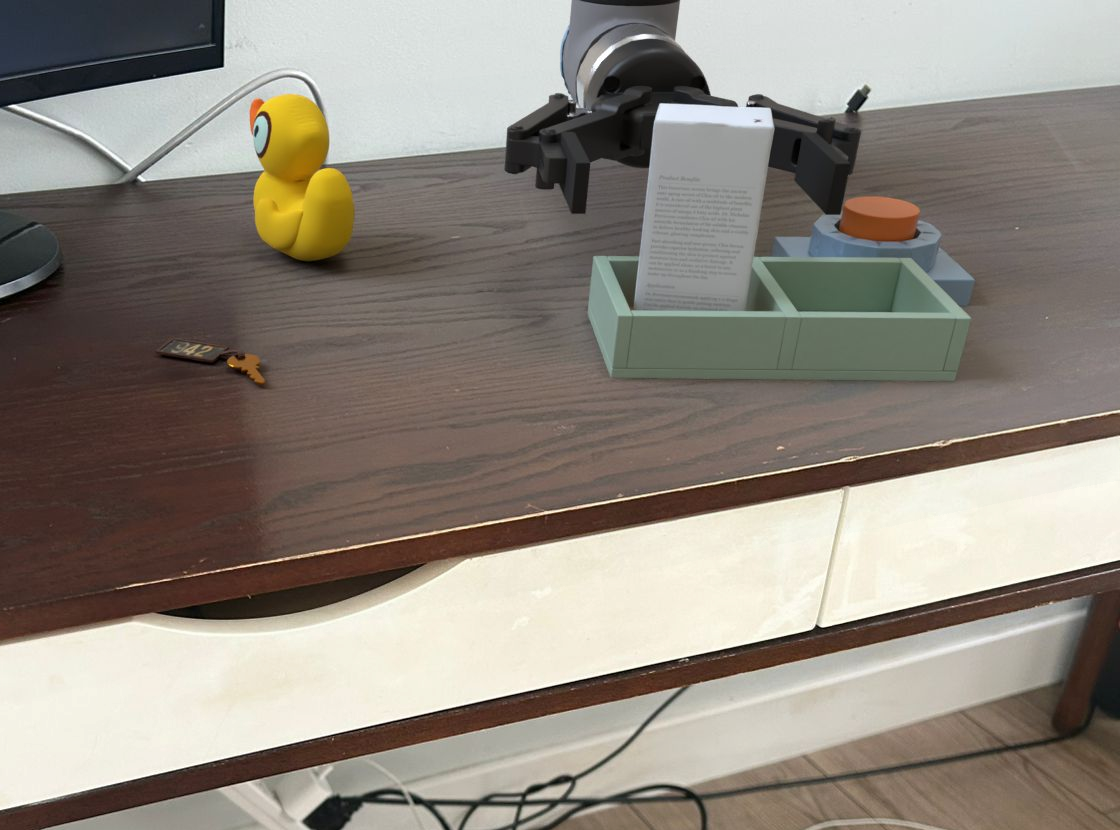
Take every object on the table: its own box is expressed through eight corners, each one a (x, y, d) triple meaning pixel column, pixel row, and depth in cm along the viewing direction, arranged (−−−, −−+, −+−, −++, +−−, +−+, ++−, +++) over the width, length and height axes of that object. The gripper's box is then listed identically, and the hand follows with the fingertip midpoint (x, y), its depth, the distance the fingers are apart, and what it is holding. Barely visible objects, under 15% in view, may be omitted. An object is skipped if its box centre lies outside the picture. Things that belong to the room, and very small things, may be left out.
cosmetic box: (739, 322, 78) (775, 106, 72) (739, 350, 75) (777, 126, 68) (631, 313, 80) (658, 100, 73) (626, 340, 76) (654, 119, 70)
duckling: (223, 236, 95) (217, 85, 89) (291, 223, 97) (289, 76, 91) (302, 285, 86) (300, 122, 81) (375, 270, 88) (377, 111, 83)
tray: (897, 316, 81) (911, 257, 79) (955, 382, 73) (972, 318, 71) (587, 314, 82) (593, 255, 80) (610, 378, 74) (618, 315, 72)
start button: (900, 223, 86) (906, 196, 85) (923, 246, 82) (930, 217, 82) (829, 223, 86) (835, 195, 85) (850, 246, 83) (856, 217, 82)
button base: (923, 262, 89) (936, 209, 87) (968, 306, 83) (983, 250, 81) (769, 261, 90) (779, 208, 88) (801, 305, 83) (812, 249, 81)
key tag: (148, 351, 77) (147, 341, 77) (183, 335, 79) (182, 325, 79) (261, 386, 73) (261, 376, 72) (295, 368, 75) (295, 358, 74)
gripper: (820, 155, 92) (929, 259, 74) (450, 154, 93) (470, 256, 75) (842, 36, 88) (964, 116, 70) (455, 36, 89) (478, 115, 71)
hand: (709, 189), depth 73 cm, fingers open, 13 cm apart
